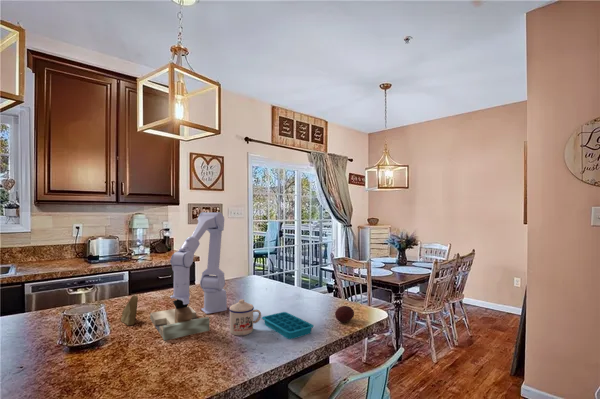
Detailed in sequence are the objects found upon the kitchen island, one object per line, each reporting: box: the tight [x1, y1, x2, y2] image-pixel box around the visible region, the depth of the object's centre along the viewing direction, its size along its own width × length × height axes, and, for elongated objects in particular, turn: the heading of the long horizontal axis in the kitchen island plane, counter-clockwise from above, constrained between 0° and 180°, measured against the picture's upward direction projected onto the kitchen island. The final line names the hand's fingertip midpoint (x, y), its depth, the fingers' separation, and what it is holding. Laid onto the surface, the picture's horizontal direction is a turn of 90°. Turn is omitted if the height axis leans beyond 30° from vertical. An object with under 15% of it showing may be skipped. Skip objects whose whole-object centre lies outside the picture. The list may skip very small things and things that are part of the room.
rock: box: [120, 294, 139, 326], centre depth 130 cm, size 11×9×10 cm
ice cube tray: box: [261, 311, 314, 340], centre depth 123 cm, size 12×20×3 cm, turn 36°
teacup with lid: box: [228, 298, 262, 336], centre depth 121 cm, size 12×9×12 cm
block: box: [174, 306, 192, 323], centre depth 120 cm, size 5×5×5 cm
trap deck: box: [149, 305, 210, 341], centre depth 127 cm, size 16×26×4 cm, turn 35°
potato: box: [334, 305, 355, 323], centre depth 130 cm, size 8×9×6 cm
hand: (181, 318), depth 123 cm, fingers closed, pressing on block
